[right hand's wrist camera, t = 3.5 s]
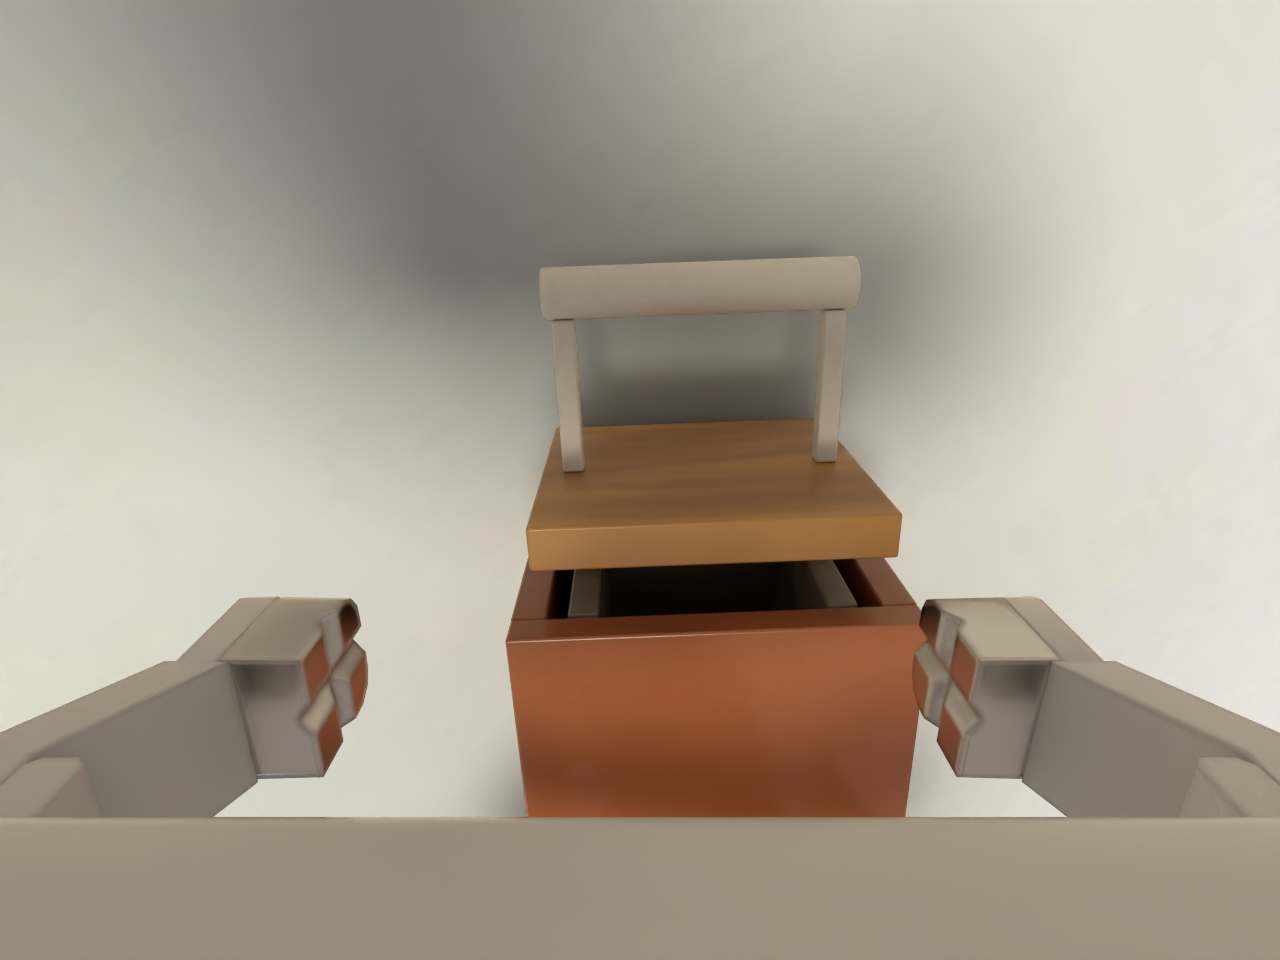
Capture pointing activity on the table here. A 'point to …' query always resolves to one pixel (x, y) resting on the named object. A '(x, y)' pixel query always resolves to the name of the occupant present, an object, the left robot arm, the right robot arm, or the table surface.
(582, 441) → the drawer
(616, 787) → the cabinet
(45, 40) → the table surface
